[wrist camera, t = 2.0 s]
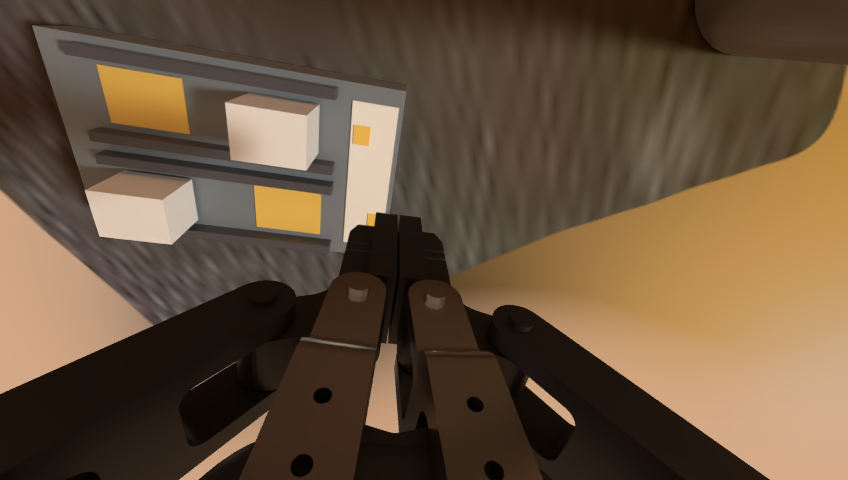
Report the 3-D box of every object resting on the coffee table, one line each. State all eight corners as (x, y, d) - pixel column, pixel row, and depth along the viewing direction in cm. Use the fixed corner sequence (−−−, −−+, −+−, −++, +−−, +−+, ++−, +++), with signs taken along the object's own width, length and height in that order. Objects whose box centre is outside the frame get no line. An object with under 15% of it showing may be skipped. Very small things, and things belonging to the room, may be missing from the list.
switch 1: (191, 179, 23) (162, 200, 20) (198, 219, 25) (171, 244, 22) (124, 170, 23) (84, 190, 20) (135, 212, 24) (99, 236, 21)
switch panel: (406, 84, 24) (406, 94, 21) (385, 237, 30) (382, 264, 26) (76, 25, 21) (14, 25, 18) (125, 205, 27) (85, 230, 24)
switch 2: (319, 104, 21) (306, 115, 18) (318, 153, 23) (306, 170, 20) (249, 92, 21) (224, 102, 18) (252, 143, 22) (230, 159, 19)
